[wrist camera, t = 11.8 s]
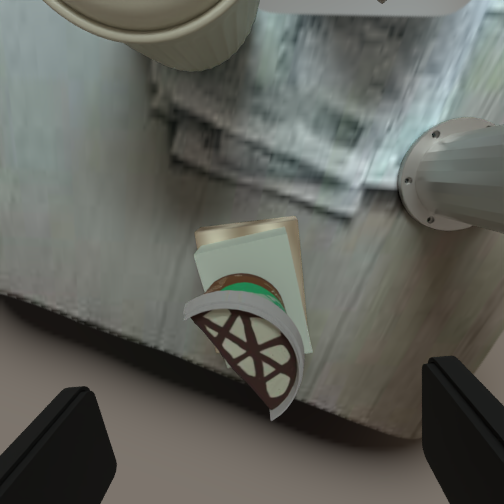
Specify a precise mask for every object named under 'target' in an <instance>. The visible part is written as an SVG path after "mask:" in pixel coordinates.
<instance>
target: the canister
mask: <svg viewBox="0 0 504 504" xmlns="http://www.w3.org/2000/svg"><path fill="white" fill-rule="evenodd" d="M43 1H44V2H45V3H46V4H47V5H49V6H50V7H51V8H52V9H53V10H55V11H56V12H57V13H58V14H60V15H61V16H62V17H64V18H65V19H67V20H68V21H70V22H71V23H73V24H74V25H76V26H78V27H80V28H81V29H83V30H85V31H87V32H90V33H92V34H94V35H97V36H99V37H102V38H105V39H108V40H112V41H116V42H121V43H124V44H126V45H127V46H129V47H131V48H132V49H134V50H136V51H138V52H139V53H141V54H143V55H145V56H147V57H149V58H150V59H152V60H154V61H156V62H159V63H161V64H163V65H165V66H167V67H169V68H175V69H177V70H179V71H189V72H193V71H200V72H201V71H203V70H206V69H212V68H213V67H215V66H217V65H221V64H222V63H223V62H224V61H226V60H229V59H230V57H231V56H232V55H233V54H234V53H236V52H237V51H238V49H239V48H240V46H241V45H242V44H244V42H245V39H246V37H247V35H248V34H249V33H250V31H251V27H252V24H253V23H254V21H255V18H256V14H257V10H258V6H259V2H260V0H43Z"/></svg>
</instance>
